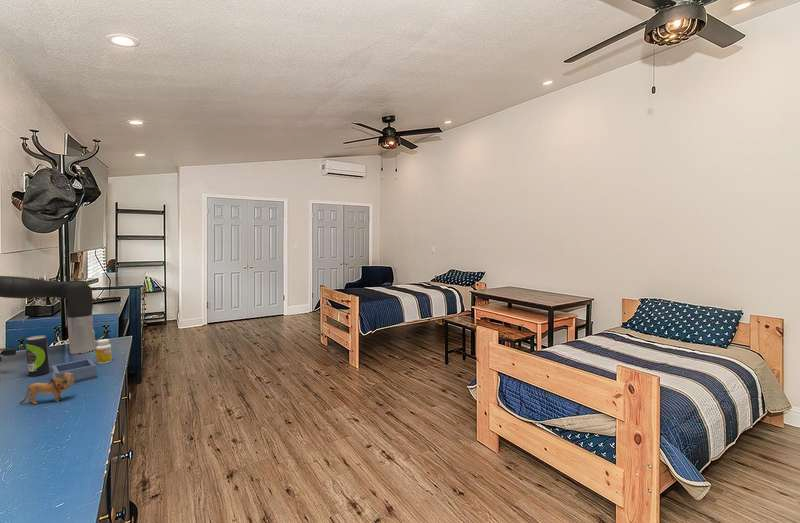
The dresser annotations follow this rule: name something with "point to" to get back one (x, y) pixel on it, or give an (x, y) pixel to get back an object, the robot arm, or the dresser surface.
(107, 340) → the supplement bottle
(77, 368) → the slate blue open bin
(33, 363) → the beverage can
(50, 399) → the dresser surface
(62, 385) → the lion figurine
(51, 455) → the dresser surface
